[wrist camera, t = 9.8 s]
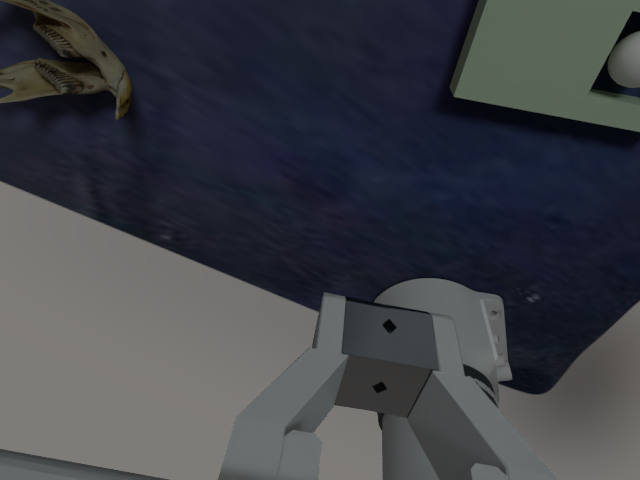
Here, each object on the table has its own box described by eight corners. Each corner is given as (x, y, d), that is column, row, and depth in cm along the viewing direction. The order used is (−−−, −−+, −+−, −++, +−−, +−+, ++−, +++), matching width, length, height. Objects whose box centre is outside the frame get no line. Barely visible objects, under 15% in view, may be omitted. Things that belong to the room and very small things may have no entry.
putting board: (741, -6, 31) (766, 0, 29) (653, 125, 37) (669, 137, 35) (496, -53, 30) (504, -51, 28) (449, 87, 37) (453, 96, 35)
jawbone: (155, 155, 38) (30, 173, 31) (70, 76, 43) (-54, 75, 36) (171, 52, 33) (26, 42, 25) (72, -23, 38) (-71, -50, 31)
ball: (667, 80, 30) (606, 62, 31) (644, 103, 33) (591, 86, 35) (696, 27, 29) (634, 11, 31) (670, 56, 33) (616, 41, 34)
